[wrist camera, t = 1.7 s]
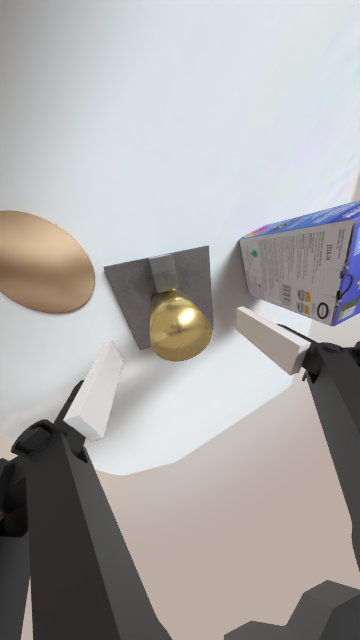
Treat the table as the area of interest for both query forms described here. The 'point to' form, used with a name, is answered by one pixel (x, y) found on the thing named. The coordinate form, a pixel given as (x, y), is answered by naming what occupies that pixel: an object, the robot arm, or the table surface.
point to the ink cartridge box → (308, 263)
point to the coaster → (42, 264)
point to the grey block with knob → (160, 285)
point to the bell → (177, 326)
